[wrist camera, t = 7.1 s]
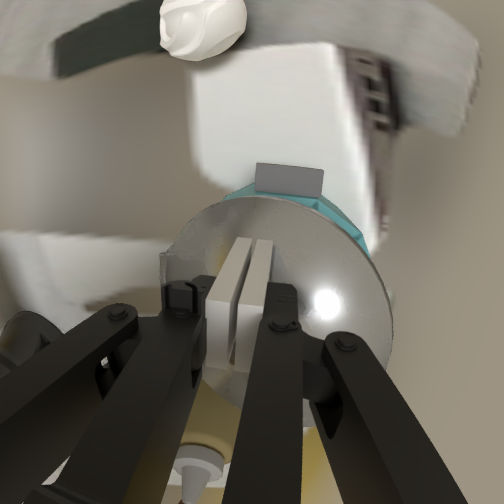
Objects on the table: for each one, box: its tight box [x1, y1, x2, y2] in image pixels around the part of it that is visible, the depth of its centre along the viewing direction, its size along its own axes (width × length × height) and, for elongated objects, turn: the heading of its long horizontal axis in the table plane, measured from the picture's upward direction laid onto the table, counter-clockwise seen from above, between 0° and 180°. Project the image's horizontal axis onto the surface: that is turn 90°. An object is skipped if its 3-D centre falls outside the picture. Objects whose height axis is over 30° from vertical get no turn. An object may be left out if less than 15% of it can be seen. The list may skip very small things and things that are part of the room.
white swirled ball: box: [160, 0, 247, 61], centre depth 20 cm, size 8×8×8 cm
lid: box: [159, 195, 393, 427], centre depth 17 cm, size 15×16×3 cm
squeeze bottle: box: [173, 379, 242, 504], centre depth 27 cm, size 8×8×18 cm
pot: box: [167, 163, 371, 259], centre depth 26 cm, size 18×15×9 cm
